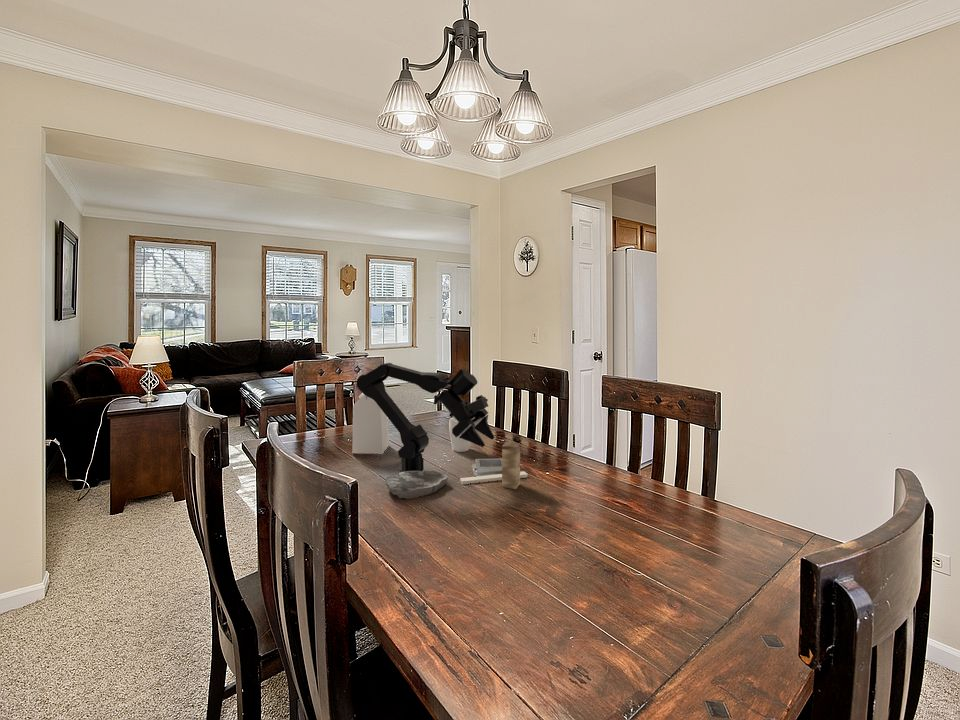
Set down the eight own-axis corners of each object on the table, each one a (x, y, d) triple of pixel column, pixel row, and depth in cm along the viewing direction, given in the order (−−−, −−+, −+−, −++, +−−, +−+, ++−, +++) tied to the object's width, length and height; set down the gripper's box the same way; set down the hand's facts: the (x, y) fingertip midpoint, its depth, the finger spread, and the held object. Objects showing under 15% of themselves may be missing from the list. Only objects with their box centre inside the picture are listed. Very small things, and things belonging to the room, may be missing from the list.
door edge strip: (462, 484, 153) (462, 481, 153) (459, 481, 156) (459, 478, 156) (527, 477, 159) (527, 474, 159) (524, 474, 162) (524, 471, 162)
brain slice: (417, 475, 163) (417, 466, 162) (455, 486, 152) (455, 477, 152) (370, 492, 147) (369, 482, 147) (408, 506, 137) (408, 496, 136)
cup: (462, 454, 185) (462, 423, 183) (444, 450, 190) (444, 419, 189) (476, 448, 192) (476, 418, 190) (459, 445, 197) (459, 415, 196)
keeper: (474, 476, 160) (474, 468, 160) (472, 465, 171) (472, 458, 171) (510, 475, 161) (510, 467, 161) (506, 465, 172) (506, 457, 172)
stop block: (501, 487, 151) (501, 445, 149) (506, 482, 155) (506, 442, 153) (516, 488, 149) (516, 447, 148) (520, 483, 153) (520, 443, 152)
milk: (382, 454, 184) (381, 386, 181) (352, 454, 184) (350, 386, 182) (389, 446, 196) (388, 381, 193) (360, 446, 196) (359, 381, 194)
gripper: (461, 393, 144) (497, 432, 142) (482, 384, 162) (514, 419, 159) (437, 417, 148) (471, 456, 145) (460, 406, 165) (491, 440, 163)
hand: (488, 442), depth 153 cm, fingers open, 9 cm apart
